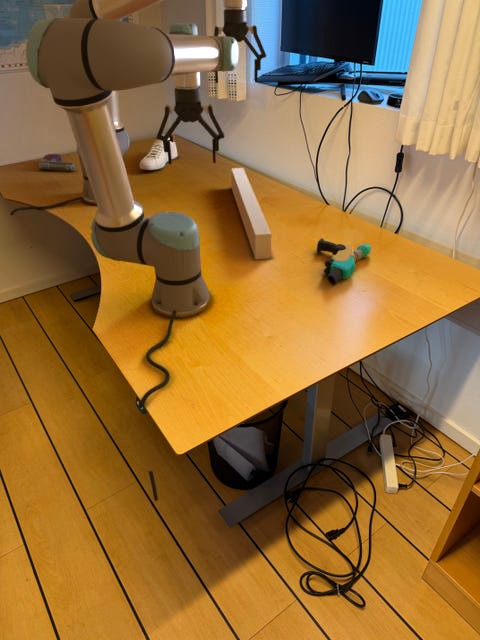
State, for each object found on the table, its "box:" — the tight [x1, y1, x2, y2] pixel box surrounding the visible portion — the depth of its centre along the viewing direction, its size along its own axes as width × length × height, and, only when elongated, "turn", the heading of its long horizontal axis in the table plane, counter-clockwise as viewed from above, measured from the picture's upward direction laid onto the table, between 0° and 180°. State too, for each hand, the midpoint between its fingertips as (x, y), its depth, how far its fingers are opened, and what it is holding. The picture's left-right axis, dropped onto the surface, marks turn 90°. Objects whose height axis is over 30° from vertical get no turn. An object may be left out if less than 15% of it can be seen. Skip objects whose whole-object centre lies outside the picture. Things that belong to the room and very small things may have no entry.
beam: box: [230, 167, 272, 260], centre depth 166 cm, size 60×5×8 cm, turn 8°
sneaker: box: [139, 133, 179, 171], centre depth 214 cm, size 10×29×12 cm, turn 163°
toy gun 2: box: [316, 237, 372, 286], centre depth 138 cm, size 4×26×15 cm
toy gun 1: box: [37, 153, 77, 172], centre depth 215 cm, size 4×19×15 cm
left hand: (236, 81), depth 164 cm, fingers open, 13 cm apart
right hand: (192, 162), depth 147 cm, fingers open, 13 cm apart
